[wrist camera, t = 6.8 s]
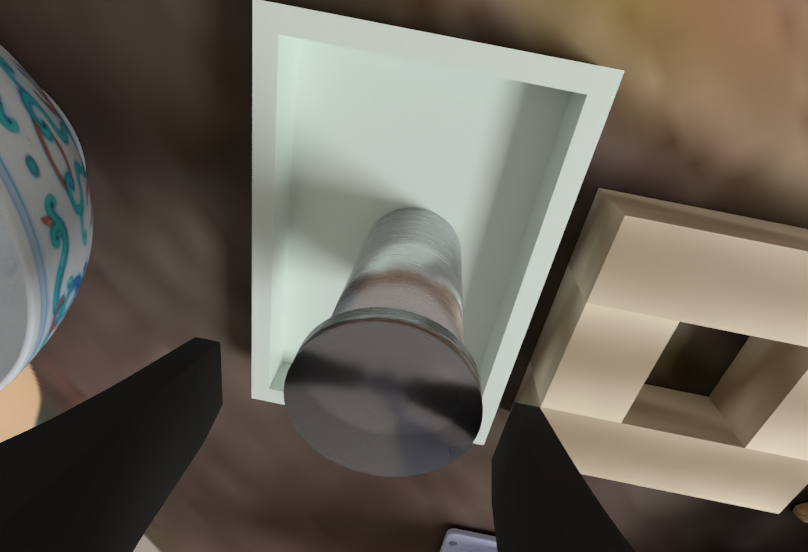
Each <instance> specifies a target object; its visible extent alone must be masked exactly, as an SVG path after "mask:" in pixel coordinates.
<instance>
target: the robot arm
mask: <svg viewBox="0 0 808 552" xmlns="http://www.w3.org/2000/svg"><path fill="white" fill-rule="evenodd" d="M222 404H223V402H222V376H221V350H220V342H217V341H212V340H207V339H202V338H197V337H195V338H193V339H192V340H190V341H188V342H186V343H185V344H183V345H181V346H180V347H178V348H176V349H175V350H173V351H171V352H170V353H168V354H166V355H165V356H163V357H161V358H160V359H158V360H156V361H155V362H153V363H151V364H150V365H148V366H146V367H145V368H143V369H141V370H140V371H138V372H136V373H134V374H133V375H131V376H129V377H128V378H126V379H124V380H122V381H121V382H119V383H117V384H116V385H114V386H112V387H110V388H109V389H107V390H105V391H103V392H101V393H99V394H97V395H96V396H94V397H92V398H90V399H88V400H86V401H84V402H83V403H81V404H79V405H77V406H75V407H73V408H71V409H69V410H68V411H66V412H64V413H62V414H60V415H58V416H56V417H54V418H52V419H50V420H48V421H46V422H44V423H42V424H40V425H38V426H36V427H34V428H32V429H30V430H28V431H26V432H23V433H21V434H19V435H17V436H14V437H12V438H10V439H8V440H6V441H3V442H1V443H0V552H133V550H134V549H135V547H136V545H137V544H138V542H139V540H140V539H141V537H142V536H143V534H144V532H145V531H146V529H147V528H148V526H149V525H150V523H151V522H152V520H153V519H154V517H155V516H156V514H157V513H158V511H159V510H160V508H161V507H162V505H163V504H164V502H165V501H166V499H167V498H168V496H169V495H170V493H171V492H172V490H173V489H174V487H175V485H176V484H177V482H178V481H179V479H180V478H181V476H182V475H183V473H184V472H185V470H186V469H187V467H188V466H189V464H190V463H191V461H192V460H193V458H194V457H195V455H196V453H197V452H198V450H199V449H200V447H201V446H202V444H203V443H204V441H205V439H206V437H207V435H208V433H209V431H210V429H211V427H212V425H213V423H214V421H215V419H216V417H217V415H218V413H219V411H220V408H221V406H222ZM492 508H493V518H494V527H495V536H496V537H495V536H490V535H485V534H481V533H476V532H471V531H466V530H461V529H456V528H452V529H449V530H448V531H447V532H446V535H445V538H444V541H443V543H442V546H441V549H440V551H439V552H635V551H634V550H633V548H632V547H631V546H630V544H629V543H628V542H627V541H626V539H625V538H624V536H623V535H622V534H621V532H620V531H619V530H618V528H617V527H616V525H615V524H614V523H613V521H612V520H611V518H610V517H609V516H608V514H607V513H606V511H605V510H604V509H603V507H602V506H601V504H600V503H599V501H598V500H597V498H596V497H595V495H594V494H593V492H592V491H591V489H590V488H589V486H588V485H587V483H586V481H585V480H584V478H583V477H582V475H581V474H580V472H579V471H578V469H577V468H576V466H575V464H574V463H573V461H572V460H571V458H570V456H569V455H568V453H567V451H566V450H565V448H564V446H563V445H562V443H561V442H560V440H559V438H558V437H557V435H556V433H555V432H554V430H553V428H552V427H551V425H550V423H549V422H548V420H547V418H546V417H545V415H544V413H543V412H542V410H541V409H540V407H536V406H531V405H526V404H522V403H517V402H514V405H513V407H512V410H511V412H510V415H509V417H508V420H507V422H506V425H505V427H504V430H503V432H502V435H501V437H500V440H499V442H498V445H497V448H496V450H495V453H494V455H493V458H492Z"/></svg>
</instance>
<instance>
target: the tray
mask: <svg viewBox="0 0 808 552" xmlns="http://www.w3.org/2000/svg"><path fill="white" fill-rule="evenodd" d="M623 74H624V71H623V70H618V69H613V68H608V67H603V66H598V65H593V64H587V63H582V62H577V61H572V60H567V59H562V58H557V57H552V56H546V55H541V54H536V53H531V52H526V51H521V50H516V49H510V48H505V47H500V46H495V45H490V44H485V43H480V42H474V41H469V40H464V39H459V38H454V37H449V36H444V35H439V34H433V33H428V32H423V31H418V30H413V29H408V28H403V27H397V26H392V25H387V24H382V23H377V22H372V21H367V20H361V19H356V18H351V17H346V16H341V15H336V14H331V13H325V12H320V11H315V10H310V9H305V8H300V7H295V6H290V5H284V4H279V3H274V2H269V1H264V0H252V398H253V399H258V400H263V401H268V402H273V403H278V404H283V405H285V402H284V383H285V379H286V375H287V372H288V370H289V368H290V366H291V364H292V362H293V360H294V358H295V356H296V354H297V352H298V350H299V348H300V346H301V344H302V343H303V341H304V340H305V338H306V337H307V336H308V334H309V333H310V332H311V331H312V330H314V329H315V328H316V327H317V326H318V325H320V324H321V323H322V322H324V321H325V320H327V319H329V318H331V316H332V314H333V312H334V309H335V307H336V305H337V303H338V300H339V298H340V296H341V294H342V291H343V289H344V287H345V285H346V283H347V280H348V278H349V276H350V274H351V271H352V269H353V267H354V265H355V263H356V260H357V258H358V256H359V254H360V251H361V249H362V247H363V245H364V242H365V240H366V238H367V236H368V234H369V232H370V230H371V228H372V227H373V225H374V224H375V223H376V222H377V221H378V220H379V219H380V218H381V217H383V216H384V215H386V214H387V213H389V212H391V211H394V210H397V209H401V208H408V207H415V208H422V209H426V210H429V211H432V212H434V213H436V214H438V215H440V216H441V217H442V218H444V219H445V220H446V221H447V222H448V223H449V224H450V225H451V226H452V227H453V229H454V230H455V232H456V233H457V236H458V238H459V241H460V244H461V255H462V294H463V332H464V345H465V346H466V348H467V349H468V351H469V352H470V353H471V355H472V356H473V359H474V361H475V363H476V365H477V368H478V371H479V374H480V380H481V391H482V404H483V416H482V423H481V427H480V430H479V432H478V434H477V437H476V438H475V440H474V442H473V443H475V444H480V445H484V443H485V441H486V438H487V435H488V433H489V430H490V427H491V425H492V422H493V419H494V417H495V414H496V411H497V409H498V406H499V403H500V401H501V398H502V395H503V393H504V390H505V387H506V385H507V382H508V379H509V377H510V374H511V371H512V369H513V366H514V364H515V361H516V358H517V356H518V353H519V350H520V348H521V345H522V342H523V340H524V337H525V334H526V332H527V329H528V326H529V324H530V321H531V318H532V316H533V313H534V310H535V308H536V305H537V302H538V300H539V297H540V294H541V292H542V289H543V286H544V284H545V281H546V278H547V276H548V273H549V270H550V268H551V265H552V262H553V260H554V257H555V255H556V252H557V249H558V247H559V244H560V241H561V239H562V236H563V233H564V231H565V228H566V225H567V223H568V220H569V217H570V215H571V212H572V209H573V207H574V204H575V201H576V199H577V196H578V193H579V191H580V188H581V185H582V183H583V180H584V177H585V175H586V172H587V169H588V167H589V164H590V161H591V159H592V156H593V153H594V151H595V148H596V146H597V143H598V140H599V138H600V135H601V132H602V130H603V127H604V124H605V122H606V119H607V116H608V114H609V111H610V108H611V106H612V103H613V100H614V98H615V95H616V92H617V90H618V87H619V84H620V82H621V79H622V76H623Z"/></svg>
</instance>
